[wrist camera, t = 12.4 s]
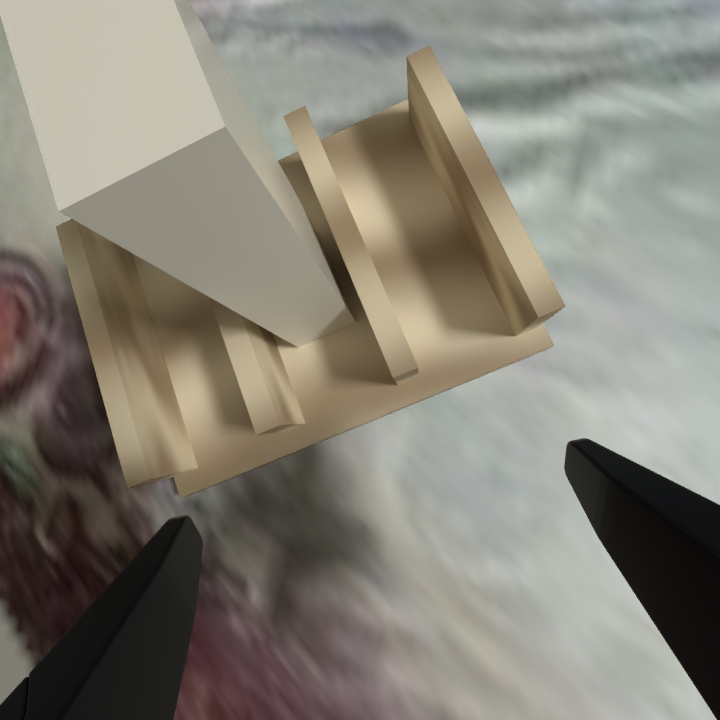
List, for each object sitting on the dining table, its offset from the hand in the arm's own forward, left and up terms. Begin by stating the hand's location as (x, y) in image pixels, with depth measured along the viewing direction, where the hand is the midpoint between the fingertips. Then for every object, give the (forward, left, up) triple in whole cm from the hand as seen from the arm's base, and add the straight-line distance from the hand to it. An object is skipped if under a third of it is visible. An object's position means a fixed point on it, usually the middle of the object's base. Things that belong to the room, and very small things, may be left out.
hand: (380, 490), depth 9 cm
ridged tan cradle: (+9, +1, -9) cm, 13 cm away
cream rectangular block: (+9, +1, -8) cm, 12 cm away
